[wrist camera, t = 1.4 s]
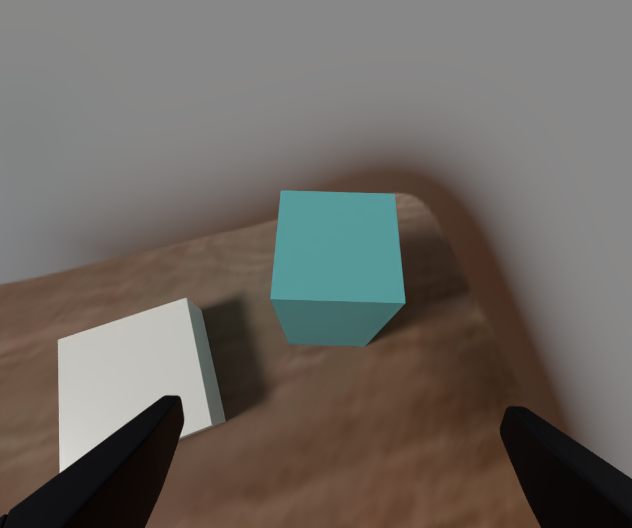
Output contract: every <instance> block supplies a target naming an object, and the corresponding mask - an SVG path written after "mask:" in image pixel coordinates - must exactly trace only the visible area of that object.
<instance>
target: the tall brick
mask: <svg viewBox="0 0 632 528" xmlns="http://www.w3.org/2000/svg"><path fill="white" fill-rule="evenodd" d="M271 301H272V304H273V306H274V309H275V311H276V314H277V316H278V319H279V321H280V323H281V326H282V328H283V331H284V333H285V336H286V338H287V340H288V343H289V344H300V345H332V346H364V347H365V346H366V345H367V344H368V343H369V341H370V340H371V339H372V338H373V337H374V336H375V335H376V334H377V333H378V332H379V331H380V330H381V329H382V328H383V327H384V326H385V324H386V323H387V322H388V321H389V320H390V319H391V318H392V317H393V316H394V315H395V314H396V313H397V312H398V311H399V310H400V309H401V307H402V306H403V305H404V304H405V293H404V283H403V273H402V263H401V254H400V244H399V234H398V224H397V214H396V204H395V194H382V193H348V192H347V193H346V192H345V193H344V192H314V191H313V192H312V191H281V196H280V206H279V216H278V227H277V237H276V248H275V258H274V268H273V279H272V289H271Z"/></svg>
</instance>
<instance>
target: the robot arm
mask: <svg viewBox="0 0 632 528" xmlns="http://www.w3.org/2000/svg"><path fill="white" fill-rule="evenodd" d="M183 426H184V411H183V405H182V400H181V397H180V396H178V395H165V396H163V397H161V398H160V399H158V400H157V401H156V402H154V403H153V404H152V405H150V406H149V407H148V408H146V409H145V410H144V411H142V412H141V413H140V414H138V415H137V416H136V417H134V418H133V419H132V420H130V421H129V422H128V423H126V424H125V425H124V426H122V427H121V428H120V429H118V430H117V431H115V432H114V433H113V434H111V435H110V436H109V437H107V438H106V439H105V440H103V441H102V442H101V443H99V444H98V445H97V446H95V447H94V448H93V449H91V450H90V451H89V452H87V453H86V454H85V455H83V456H82V457H81V458H79V459H78V460H77V461H75V462H74V463H73V464H71V465H70V466H69V467H67V468H66V469H65V470H63V471H62V472H60V473H59V474H58V475H56V476H55V477H54V478H52V479H51V480H50V481H48V482H47V483H46V484H44V485H43V486H42V487H40V488H39V489H38V490H36V491H35V492H34V493H32V494H31V495H30V496H28V497H27V498H26V499H24V500H23V501H22V502H20V503H19V504H18V505H16V506H15V507H14V508H12V509H11V510H10V511H9V513H8V514H4V515H3V516H1V517H0V528H145V526H146V524H147V522H148V519H149V517H150V515H151V513H152V510H153V508H154V506H155V504H156V502H157V499H158V497H159V495H160V492H161V490H162V487H163V485H164V482H165V479H166V476H167V473H168V470H169V468H170V465H171V462H172V459H173V456H174V453H175V450H176V447H177V444H178V441H179V438H180V435H181V432H182V429H183ZM500 435H501V438H502V441H503V443H504V446H505V448H506V451H507V453H508V456H509V458H510V460H511V463H512V465H513V468H514V470H515V473H516V475H517V477H518V480H519V482H520V485H521V487H522V489H523V492H524V494H525V496H526V499H527V501H528V503H529V505H530V507H531V509H532V511H533V513H534V515H535V517H536V519H537V521H538V523H539V525H540V527H541V528H632V479H631V478H630V477H628V476H627V475H625V474H624V473H622V472H621V471H619V470H618V469H616V468H615V467H613V466H612V465H610V464H609V463H607V462H606V461H604V460H603V459H602V458H600V457H598V456H597V455H596V454H594V453H593V452H591V451H590V450H588V449H587V448H585V447H584V446H582V445H581V444H579V443H578V442H576V441H574V440H573V439H572V438H570V437H569V436H567V435H566V434H564V433H563V432H561V431H560V430H558V429H557V428H555V427H554V426H552V425H551V424H550V423H548V422H547V421H545V420H544V419H542V418H541V417H539V416H538V415H536V414H535V413H533V412H532V411H530V410H529V409H527V408H525V407H522V406H509V407H507V408H506V410H505V414H504V417H503V420H502V423H501V426H500Z"/></svg>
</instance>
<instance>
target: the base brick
mask: <svg viewBox="0 0 632 528" xmlns="http://www.w3.org/2000/svg"><path fill="white" fill-rule="evenodd" d="M58 371H59V446H60V472H62V471H63V470H65V469H66V468H67V467H69V466H70V465H71V464H73V463H74V462H75V461H77V460H78V459H79V458H81V457H82V456H83V455H85V454H86V453H87V452H89V451H90V450H91V449H93V448H94V447H95V446H97V445H98V444H99V443H101V442H102V441H103V440H105V439H106V438H107V437H109V436H110V435H111V434H113V433H114V432H115V431H117V430H118V429H120V428H121V427H122V426H124V425H125V424H126V423H128V422H129V421H130V420H132V419H133V418H134V417H136V416H137V415H138V414H140V413H141V412H142V411H144V410H145V409H146V408H148V407H149V406H150V405H152V404H153V403H154V402H156V401H157V400H158V399H160V398H161V397H163V396H165V395H178V396H180V397H181V400H182V405H183V411H184V426H183V429H182V432H181V435H180V438H179V440H181V439H184V438H186V437H189V436H191V435H194V434H196V433H199V432H201V431H204V430H206V429H209V428H211V427H214V426H216V425H219V424H221V423H224V422H226V420H225V415H224V411H223V406H222V402H221V397H220V392H219V388H218V383H217V379H216V374H215V370H214V365H213V360H212V356H211V351H210V347H209V342H208V338H207V333H206V328H205V324H204V319H203V315H202V310H201V309H200V308H198V307H197V306H196V305H195V304H193V303H192V302H191V301H190V300H189V299H187V298H184V299H181V300H178V301H175V302H172V303H168V304H165V305H162V306H159V307H156V308H153V309H150V310H147V311H144V312H141V313H138V314H135V315H132V316H129V317H126V318H123V319H120V320H117V321H114V322H111V323H108V324H105V325H102V326H98V327H95V328H92V329H89V330H86V331H83V332H80V333H77V334H74V335H71V336H68V337H65V338H62V339H59V340H58Z"/></svg>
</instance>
